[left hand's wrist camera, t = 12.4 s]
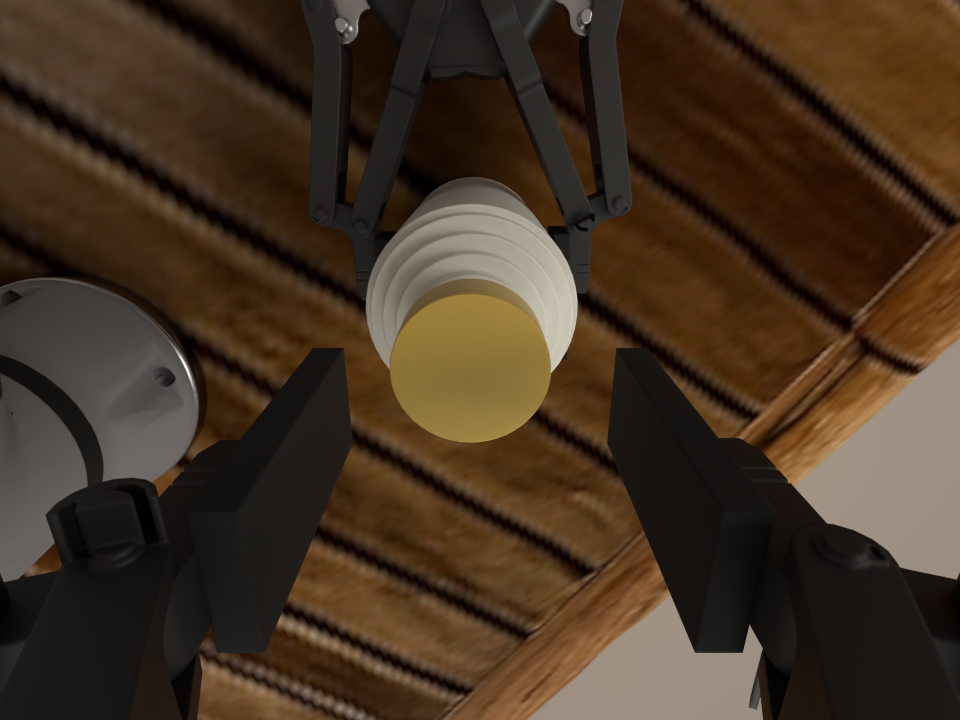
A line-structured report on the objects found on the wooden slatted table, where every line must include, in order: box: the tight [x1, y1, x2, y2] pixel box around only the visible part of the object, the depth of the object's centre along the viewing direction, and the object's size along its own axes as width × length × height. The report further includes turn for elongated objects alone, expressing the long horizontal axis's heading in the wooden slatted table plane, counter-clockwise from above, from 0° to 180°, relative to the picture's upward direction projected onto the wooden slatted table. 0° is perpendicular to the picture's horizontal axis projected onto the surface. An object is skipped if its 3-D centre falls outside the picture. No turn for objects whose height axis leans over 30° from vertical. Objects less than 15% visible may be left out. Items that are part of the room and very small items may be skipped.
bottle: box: [366, 177, 577, 372], centre depth 25 cm, size 8×8×20 cm
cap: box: [390, 278, 551, 442], centre depth 17 cm, size 5×5×2 cm
